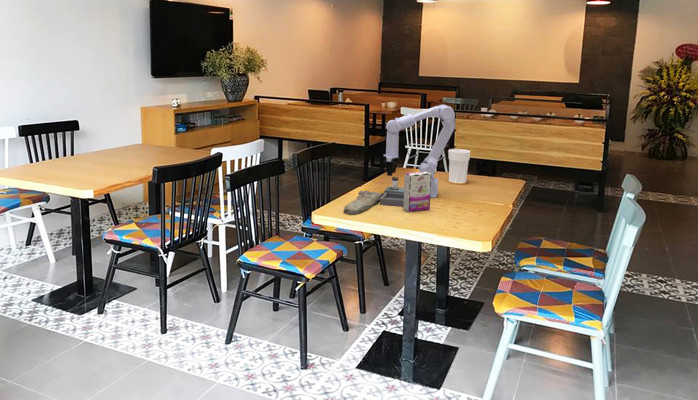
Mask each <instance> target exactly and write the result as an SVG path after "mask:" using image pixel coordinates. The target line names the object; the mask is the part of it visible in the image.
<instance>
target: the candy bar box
mask: <svg viewBox="0 0 698 400" xmlns="http://www.w3.org/2000/svg"><path fill="white" fill-rule="evenodd" d="M403 180H404V182H403V186H404V187H403V188H404V207H402V208H403V210H404V211H406V212H408V213H411V212H413V213H414V212H421V211H429V210H430V209H431V197H430V191H431V173H429V172H420V171H418V172H417V171H416V172H408V173H407V172H405V173H404V179H403Z"/></svg>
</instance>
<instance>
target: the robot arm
mask: <svg viewBox="0 0 698 400" xmlns="http://www.w3.org/2000/svg"><path fill="white" fill-rule="evenodd" d="M455 116H456V114H455V112H454V110H453V108H452V107H451V106H450V105H449V106H448V105H446V104H439V105H435V106H433V107H430V108H427V109H425V110H422V111H421V112H418V113H416V114H411V113H405V114H404V115H403V116H401V117H395V118H394V119H390V120H389V121H388V122H386V125H385V128H386V130H387V131H386V146H385V148H386V149H385V154H383V157H385V158H386V160H385V159H384V160H383V164H384V166H385V170H386V175H387V177H388V176H389V177H393V174H395V173H396V171H397V167H398V164H399V162H400V159H401V158H400V157H399V141H400V140H399V139H400V137H399V133H400V131H402V130H404V129H407V128H410V127H413V126H415V124H416V123H417V122H419V121H422V120H424V119H425V120H426V119H428V118H431V117H434V118H439V119H440V122H441V124H442V126H443V127H442V129H441V130H440V132H439V134H438V136H437V137H436V140H435V142H434V144H433V146H432V148H431V150H430V152H429V153H428V156H426V157H425V158H424V160H423V162H421V163H420V164H419V166H418V172H429V173H431V191H430V198H435V199H436V198H437V197H438V194H439V178H438V177H437V178H436V177H435V174H436V170H437V167H438V161H439V159H440V157H441V155H442V154H443V151H444V150H445V147H446V146H447V145H448V144H447V143H448V142H449V140H450V138H451V137H452V134H453V132H454V130H455V128H456V122H455V121H456V120H455V119H456V118H455Z"/></svg>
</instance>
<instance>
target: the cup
mask: <svg viewBox="0 0 698 400" xmlns="http://www.w3.org/2000/svg"><path fill="white" fill-rule="evenodd" d="M447 158H448V161H449V165H448V183H449V184H450V185H460V186H461V185H466V184H467V179H468V178H467V175H468V168H469V161H470V159H471V150H468V149H464V148H463V149H462V148H451V149H449V150H448V157H447Z"/></svg>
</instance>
